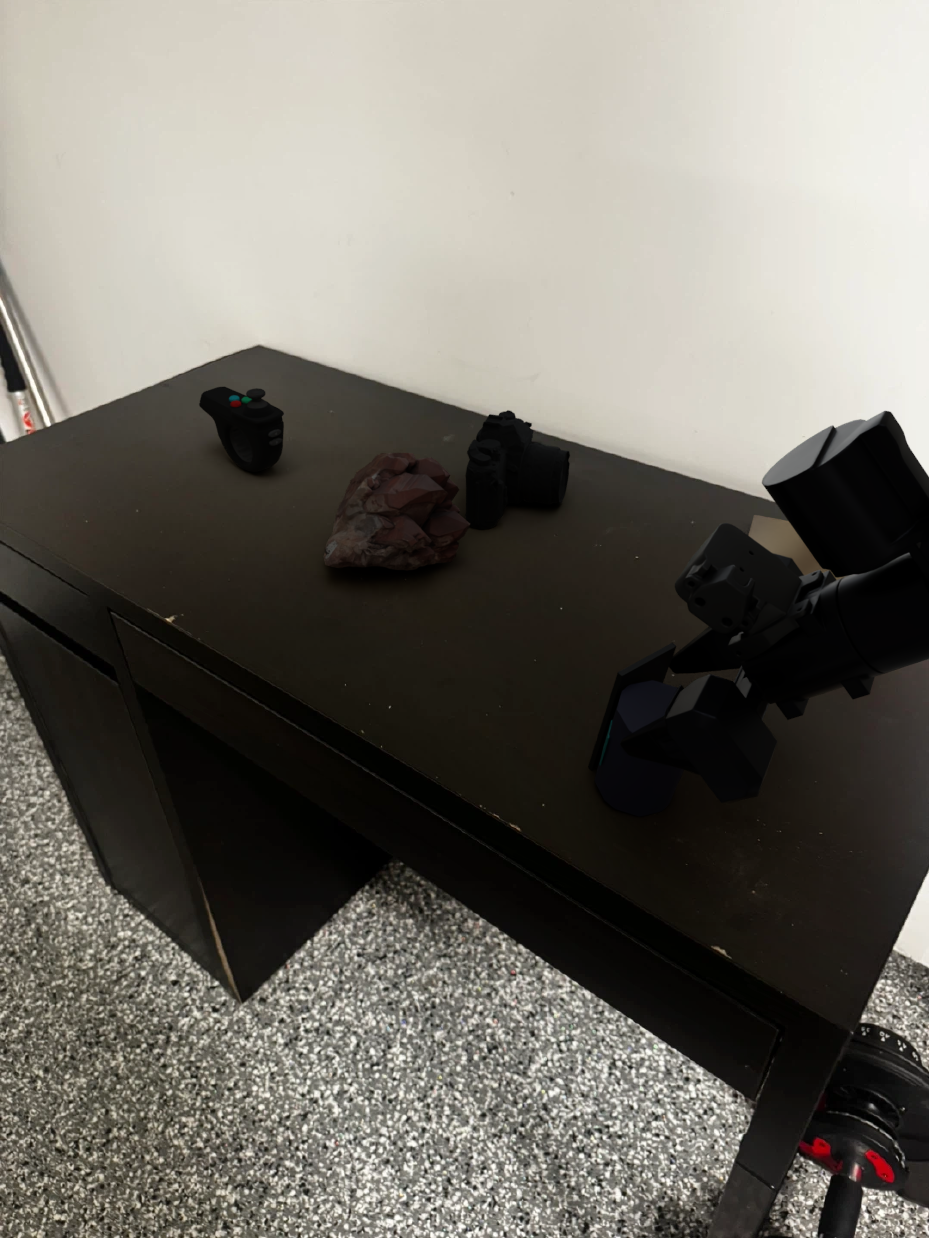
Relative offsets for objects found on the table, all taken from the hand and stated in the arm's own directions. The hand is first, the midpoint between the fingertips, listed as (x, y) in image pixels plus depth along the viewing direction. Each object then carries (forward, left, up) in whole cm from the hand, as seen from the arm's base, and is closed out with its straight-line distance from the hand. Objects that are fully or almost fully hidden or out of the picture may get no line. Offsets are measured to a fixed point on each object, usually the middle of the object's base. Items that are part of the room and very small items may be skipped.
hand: (648, 705), depth 60 cm
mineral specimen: (+29, -20, -8) cm, 36 cm away
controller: (+54, -32, -8) cm, 63 cm away
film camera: (+22, -36, -8) cm, 43 cm away
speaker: (0, 0, -8) cm, 8 cm away
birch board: (-9, -29, -7) cm, 31 cm away
